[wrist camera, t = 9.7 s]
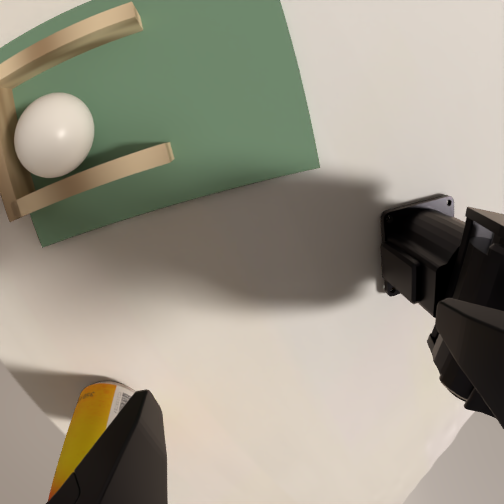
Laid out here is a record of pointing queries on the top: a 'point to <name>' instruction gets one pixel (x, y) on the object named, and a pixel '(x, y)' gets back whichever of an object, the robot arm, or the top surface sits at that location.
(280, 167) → the putting mat
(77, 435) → the orange cylindrical container
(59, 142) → the golf ball
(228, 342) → the top surface
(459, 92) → the top surface
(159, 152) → the u-shaped wooden rail
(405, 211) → the robot arm
